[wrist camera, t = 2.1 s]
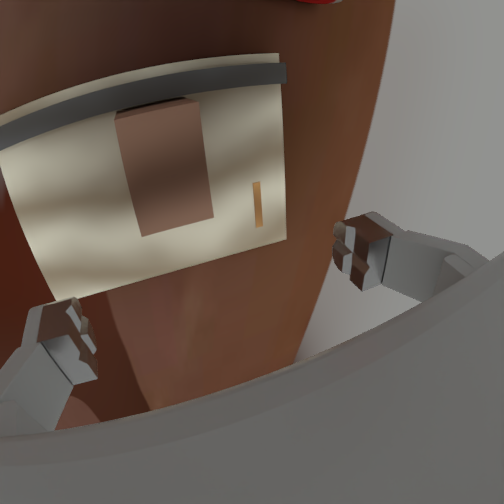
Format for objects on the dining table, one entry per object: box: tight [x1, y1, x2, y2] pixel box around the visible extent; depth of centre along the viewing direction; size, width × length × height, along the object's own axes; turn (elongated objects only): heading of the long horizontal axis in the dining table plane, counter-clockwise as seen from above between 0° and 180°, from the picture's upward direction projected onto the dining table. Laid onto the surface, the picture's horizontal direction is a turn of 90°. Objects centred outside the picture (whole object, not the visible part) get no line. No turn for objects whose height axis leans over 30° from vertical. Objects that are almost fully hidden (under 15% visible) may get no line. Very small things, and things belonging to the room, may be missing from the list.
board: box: [0, 53, 287, 301], centre depth 21 cm, size 16×21×4 cm
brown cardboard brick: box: [114, 97, 214, 237], centre depth 18 cm, size 7×4×5 cm, turn 5°
